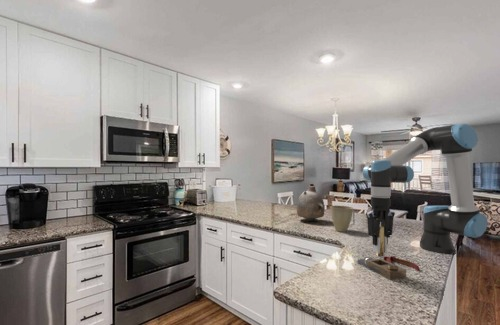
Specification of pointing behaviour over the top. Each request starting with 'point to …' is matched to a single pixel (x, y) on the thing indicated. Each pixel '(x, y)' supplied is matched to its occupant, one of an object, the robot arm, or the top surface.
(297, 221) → the top surface
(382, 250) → the brass pin
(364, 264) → the chain end
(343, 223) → the plant pot
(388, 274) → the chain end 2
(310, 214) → the jug
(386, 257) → the pliers
